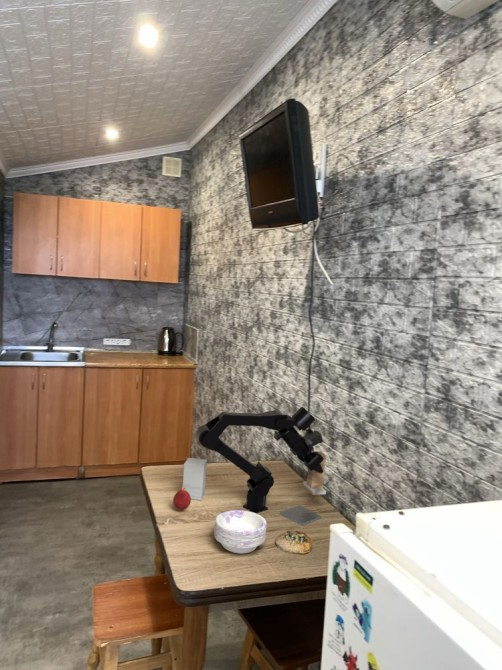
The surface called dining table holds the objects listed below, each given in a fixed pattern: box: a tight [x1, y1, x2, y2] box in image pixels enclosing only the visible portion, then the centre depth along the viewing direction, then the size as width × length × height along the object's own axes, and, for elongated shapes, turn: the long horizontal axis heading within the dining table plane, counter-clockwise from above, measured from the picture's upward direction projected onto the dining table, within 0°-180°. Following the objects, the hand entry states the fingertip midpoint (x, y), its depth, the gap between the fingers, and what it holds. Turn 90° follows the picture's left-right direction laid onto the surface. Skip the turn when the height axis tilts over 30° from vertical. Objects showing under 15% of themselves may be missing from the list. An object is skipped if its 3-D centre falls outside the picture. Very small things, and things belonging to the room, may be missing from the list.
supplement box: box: [181, 457, 208, 501], centre depth 179 cm, size 7×7×13 cm
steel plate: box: [279, 505, 322, 527], centre depth 170 cm, size 10×10×1 cm
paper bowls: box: [213, 509, 268, 554], centre depth 147 cm, size 15×15×8 cm
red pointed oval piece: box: [172, 486, 192, 512], centre depth 166 cm, size 6×6×8 cm
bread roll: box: [275, 529, 313, 555], centre depth 150 cm, size 11×11×5 cm
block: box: [303, 451, 327, 496], centre depth 178 cm, size 5×9×13 cm, turn 15°
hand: (319, 470), depth 179 cm, fingers closed on block, 4 cm apart
